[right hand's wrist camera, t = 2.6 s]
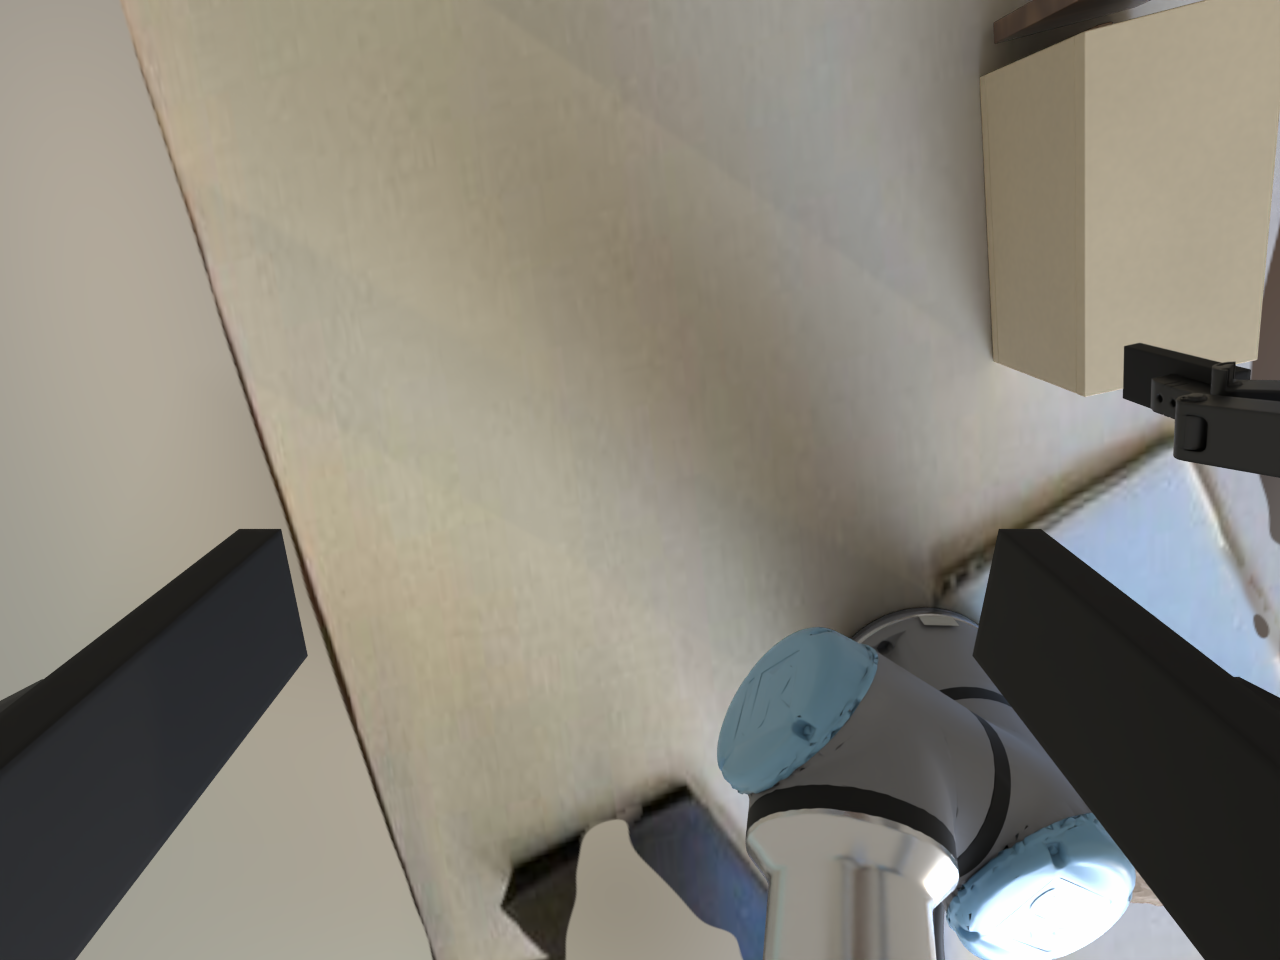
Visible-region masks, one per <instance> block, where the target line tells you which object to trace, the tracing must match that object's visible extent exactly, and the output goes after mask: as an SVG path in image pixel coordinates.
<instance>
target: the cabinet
mask: <svg viewBox="0 0 1280 960" xmlns="http://www.w3.org/2000/svg"><path fill="white" fill-rule="evenodd" d="M980 95H981V115H982V136H983V156H984V177H985V198H986V218H987V239H988V259H989V280H990V300H991V321H992V341H993V361H994V362H996V363H999V364H1001V365H1004V366H1007V367H1009V368H1012V369H1014V370H1017V371H1020V372H1022V373H1025V374H1027V375H1030V376H1033V377H1035V378H1038V379H1040V380H1043V381H1045V382H1048V383H1051V384H1053V385H1056V386H1058V387H1061V388H1064V389H1066V390H1069V391H1071V392H1074V393H1077V394H1078V395H1081V396H1084V397H1087V396H1092V395H1097V394H1101V393H1106V392H1111V391H1115V390H1120V389H1123V372H1124V346H1127V345H1131V344H1136V343H1143V344H1147V345H1151V346H1156V347H1160V348H1164V349H1168V350H1172V351H1176V352H1180V353H1184V354H1189V355H1193V356H1197V357H1201V358H1205V359H1209V360H1213V361H1217V362H1221V363H1223V362H1235V361H1236V364H1240V363H1244V362H1249V361H1254V360H1257V355H1258V344H1259V333H1260V322H1261V311H1262V300H1263V289H1264V278H1265V266H1266V255H1267V244H1268V233H1269V222H1270V210H1271V199H1272V188H1273V177H1274V166H1275V155H1276V143H1277V132H1278V121H1279V110H1280V0H1204V1H1200V2H1196V3H1192V4H1188V5H1184V6H1180V7H1177V8H1173V9H1169V10H1165V11H1161V12H1157V13H1153V14H1150V15H1146V16H1142V17H1138V18H1134V19H1130V20H1126V21H1123V22H1119V23H1115V24H1111V25H1107V26H1103V27H1099V28H1096V29H1092V30H1088V31H1084V32H1082V33H1080V34H1078V35H1076V36H1073V37H1071V38H1069V39H1066V40H1064V41H1062V42H1059V43H1057V44H1055V45H1053V46H1050V47H1048V48H1046V49H1043V50H1041V51H1039V52H1036V53H1034V54H1032V55H1030V56H1027V57H1025V58H1023V59H1020V60H1018V61H1016V62H1013V63H1011V64H1009V65H1007V66H1004V67H1002V68H1000V69H997V70H995V71H993V72H990V73H988V74H986V75H984V76H981V77H980Z"/></svg>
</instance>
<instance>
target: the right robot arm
mask: <svg viewBox="0 0 1280 960" xmlns="http://www.w3.org/2000/svg"><path fill="white" fill-rule="evenodd" d="M307 656H308V655H307V650H306V646H305V641H304V636H303V632H302V627H301V622H300V617H299V612H298V607H297V603H296V598H295V593H294V588H293V584H292V579H291V574H290V569H289V564H288V560H287V555H286V550H285V545H284V541H283V536H282V531H281V529H239V530H237V531H236V532H235V533H233V534H232V535H231V536H230V537H228V538H227V539H226V540H224V541H223V542H222V543H220V544H219V545H218V546H216V547H215V548H214V549H213V550H211V551H210V552H209V553H207V554H206V555H205V556H204V557H202V558H201V559H200V560H198V561H197V562H196V563H194V564H193V565H192V566H190V567H189V568H188V569H187V570H185V571H184V572H183V573H181V574H180V575H179V576H177V577H176V578H175V579H174V580H172V581H171V582H170V583H168V584H167V585H166V586H165V587H163V588H162V589H161V590H159V591H158V592H157V593H155V594H154V595H153V596H152V597H150V598H149V599H148V600H146V601H145V602H144V603H142V604H141V605H140V606H138V607H137V608H136V609H135V610H133V611H132V612H131V613H129V614H128V615H127V616H125V617H124V618H123V619H122V620H120V621H119V622H118V623H116V624H115V625H114V626H112V627H111V628H110V629H108V630H107V631H106V632H105V633H103V634H102V635H101V636H99V637H98V638H97V639H95V640H94V641H93V642H92V643H90V644H89V645H88V646H86V647H85V648H84V649H82V650H81V651H80V652H79V653H77V654H76V655H75V656H73V657H72V658H71V659H69V660H68V661H67V662H66V663H64V664H63V665H62V666H60V667H59V668H58V669H56V670H55V671H54V672H53V673H51V674H50V675H49V676H47V677H46V678H45V679H42V680H40V681H38V682H36V683H34V684H32V685H30V686H28V687H26V688H24V689H22V690H20V691H19V692H17V693H15V694H13V695H11V696H9V697H7V698H5V699H3V700H1V701H0V960H75V959H76V958H77V957H78V956H79V954H80V953H81V952H82V950H83V949H84V948H85V946H86V945H87V944H88V942H89V941H90V940H91V939H92V937H93V936H94V935H95V933H96V932H97V931H98V929H99V928H100V927H101V925H102V924H103V923H104V922H105V920H106V919H107V918H108V916H109V915H110V914H111V912H112V911H113V910H114V908H115V907H116V906H117V905H118V903H119V902H120V901H121V899H122V898H123V897H124V895H125V894H126V893H127V891H128V890H129V889H130V888H131V886H132V885H133V883H134V882H135V881H136V880H137V878H138V877H139V876H140V874H141V873H142V872H143V871H144V869H145V868H146V867H147V865H148V864H149V863H150V861H151V860H152V859H153V857H154V856H155V855H156V854H157V852H158V851H159V850H160V848H161V847H162V846H163V844H164V843H165V842H166V840H167V839H168V838H169V836H170V835H171V834H172V833H173V831H174V830H175V829H176V827H177V826H178V825H179V823H180V822H181V821H182V819H183V818H184V817H185V816H186V814H187V813H188V812H189V810H190V809H191V808H192V806H193V805H194V804H195V803H196V801H197V800H198V798H199V797H200V796H201V795H202V793H203V792H204V791H205V789H206V788H207V787H208V785H209V784H210V783H211V782H212V780H213V779H214V778H215V776H216V775H217V774H218V772H219V771H220V770H221V768H222V767H223V766H224V765H225V763H226V762H227V761H228V759H229V758H230V757H231V755H232V754H233V753H234V751H235V750H236V749H237V748H238V746H239V745H240V744H241V742H242V741H243V740H244V738H245V737H246V736H247V734H248V733H249V732H250V731H251V729H252V728H253V727H254V725H255V724H256V723H257V721H258V720H259V719H260V717H261V716H262V715H263V714H264V712H265V711H266V710H267V708H268V707H269V706H270V704H271V703H272V702H273V700H274V699H275V698H276V697H277V695H278V694H279V693H280V691H281V690H282V689H283V687H284V686H285V685H286V683H287V682H288V681H289V680H290V678H291V677H292V676H293V674H294V673H295V672H296V670H297V669H298V668H299V666H300V665H301V664H302V663H303V661H304V660H305V659H306V657H307ZM972 656H973V657H974V659H975V660H976V661H977V663H978V664H979V665H980V666H981V668H982V669H983V670H984V672H985V673H986V674H987V676H988V677H989V678H990V680H991V681H992V682H993V683H994V685H995V686H996V687H997V689H998V690H999V691H1000V693H1001V694H1002V695H1003V697H1004V698H1005V699H1006V700H1007V702H1008V703H1009V704H1010V706H1011V707H1012V708H1013V710H1014V711H1015V712H1016V714H1017V715H1018V716H1019V717H1020V719H1021V720H1022V721H1023V723H1024V724H1025V725H1026V727H1027V728H1028V729H1029V731H1030V732H1031V733H1032V734H1033V736H1034V737H1035V738H1036V740H1037V741H1038V742H1039V744H1040V745H1041V746H1042V748H1043V749H1044V750H1045V751H1046V753H1047V754H1048V755H1049V757H1050V758H1051V759H1052V761H1053V762H1054V763H1055V765H1056V766H1057V767H1058V768H1059V770H1060V771H1061V772H1062V774H1063V775H1064V776H1065V778H1066V779H1067V780H1068V782H1069V783H1070V784H1071V785H1072V787H1073V788H1074V789H1075V791H1076V792H1077V793H1078V795H1079V796H1080V797H1081V799H1082V800H1083V801H1084V803H1085V804H1086V805H1087V806H1088V808H1089V809H1090V810H1091V812H1092V813H1093V814H1094V816H1095V817H1096V818H1097V820H1098V821H1099V822H1100V823H1101V825H1102V826H1103V827H1104V829H1105V830H1106V831H1107V833H1108V834H1109V835H1110V837H1111V838H1112V839H1113V840H1114V842H1115V843H1116V844H1117V846H1118V847H1119V848H1120V850H1121V851H1122V852H1123V854H1124V855H1125V856H1126V857H1127V859H1128V860H1129V861H1130V863H1131V864H1132V865H1133V867H1134V868H1135V869H1136V871H1137V872H1138V873H1139V874H1140V876H1141V877H1142V878H1143V880H1144V881H1145V882H1146V884H1147V885H1148V886H1149V888H1150V889H1151V890H1152V891H1153V893H1154V894H1155V895H1156V897H1157V898H1158V899H1159V901H1160V902H1161V903H1162V905H1163V906H1164V907H1165V908H1166V910H1167V911H1168V912H1169V914H1170V915H1171V916H1172V918H1173V919H1174V920H1175V922H1176V923H1177V924H1178V925H1179V927H1180V928H1181V929H1182V931H1183V932H1184V933H1185V935H1186V936H1187V937H1188V939H1189V940H1190V941H1191V942H1192V944H1193V945H1194V946H1195V948H1196V949H1197V950H1198V952H1199V953H1200V954H1201V956H1202V957H1203V958H1204V959H1205V960H1280V698H1279V697H1277V696H1275V695H1273V694H1271V693H1269V692H1267V691H1265V690H1263V689H1262V688H1260V687H1258V686H1256V685H1254V684H1252V683H1250V682H1248V681H1246V680H1244V679H1242V678H1240V677H1233V676H1231V675H1230V674H1229V673H1227V672H1226V671H1225V670H1224V669H1222V668H1221V667H1220V666H1218V665H1217V664H1216V663H1214V662H1213V661H1212V660H1211V659H1209V658H1208V657H1207V656H1205V655H1204V654H1203V653H1201V652H1200V651H1199V650H1198V649H1196V648H1195V647H1194V646H1192V645H1191V644H1190V643H1188V642H1187V641H1186V640H1185V639H1183V638H1182V637H1181V636H1179V635H1178V634H1177V633H1175V632H1174V631H1173V630H1172V629H1170V628H1169V627H1168V626H1166V625H1165V624H1164V623H1162V622H1161V621H1160V620H1158V619H1157V618H1156V617H1155V616H1153V615H1152V614H1151V613H1149V612H1148V611H1147V610H1145V609H1144V608H1143V607H1142V606H1140V605H1139V604H1138V603H1136V602H1135V601H1134V600H1132V599H1131V598H1130V597H1129V596H1127V595H1126V594H1125V593H1123V592H1122V591H1121V590H1119V589H1118V588H1117V587H1116V586H1114V585H1113V584H1112V583H1110V582H1109V581H1108V580H1106V579H1105V578H1104V577H1103V576H1101V575H1100V574H1099V573H1097V572H1096V571H1095V570H1093V569H1092V568H1091V567H1090V566H1088V565H1087V564H1086V563H1084V562H1083V561H1082V560H1080V559H1079V558H1078V557H1077V556H1075V555H1074V554H1073V553H1071V552H1070V551H1069V550H1067V549H1066V548H1065V547H1064V546H1062V545H1061V544H1060V543H1058V542H1057V541H1056V540H1054V539H1053V538H1052V537H1050V536H1049V535H1048V534H1047V533H1045V532H1044V531H1043V530H1041V529H999V531H998V536H997V541H996V545H995V550H994V555H993V560H992V564H991V569H990V574H989V579H988V584H987V588H986V593H985V598H984V603H983V607H982V612H981V617H980V622H979V627H978V631H977V636H976V641H975V646H974V650H973V655H972Z"/></svg>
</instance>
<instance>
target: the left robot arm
mask: <svg viewBox="0 0 1280 960" xmlns="http://www.w3.org/2000/svg"><path fill="white" fill-rule="evenodd" d="M1235 365H1236V361H1235V362H1223V363H1221V362H1217V361H1213V360H1209V359H1205V358H1201V357H1197V356H1193V355H1189V354H1184V353H1180V352H1176V351H1172V350H1168V349H1164V348H1160V347H1156V346H1151V345H1147V344H1143V343H1136V344H1131V345H1127V346H1124V372H1123V398H1124V399H1127V400H1129V401H1132V402H1135V403H1137V404H1140V405H1143V406H1146V407H1148V408H1151V409H1152V410H1153V411H1154V412H1156V413H1159V414H1162V415H1163V414H1164V415H1165V416H1167V417H1171V418H1173V419H1175V431H1174V452H1173V455H1174V457H1175V458H1176V459H1179V460H1183V461H1188V462H1193V463H1199V464H1205V465H1210V466H1216V467H1222V468H1227V469H1233V470H1239V471H1245V472H1250V473H1256V474H1262V475H1267V476H1273V477H1279V478H1280V380H1250V374H1251V370H1250V369H1246V368H1242V367H1238V366H1235ZM978 627H979V625H977V624H976V623H975V622H973V621H972V620H970V619H969V618H967V617H965V616H963V615H961V614H958V613H955V612H953V611H949V610H945V609H938V608H913V609H907V610H902V611H898V612H894V613H891V614H889V615H886V616H884V617H881V618H879V619H877V620H875V621H874V622H872V623H870V624H868V625H867V626H866V627H864V628H863V629H861V630H860V631H859V632H858V633H856V634H855V635H854V636H853V637H852V638H851V639H850V638H848V637H846V636H844V635H842V634H840V633H838V632H836V631H834V630H831V629H828V628H822V627H812V628H807V629H803V630H800V631H797V632H795V633H793V634H791V635H789V636H788V637H786V638H784V639H783V640H781V641H780V642H778V643H777V644H776V645H775V646H773V647H772V648H771V649H770V650H769V651H768V652H767V653H766V654H765V655H764V656H763V657H762V658H761V659H760V660H759V661H758V662H757V664H756V665H755V666H754V667H753V669H752V670H751V671H750V673H749V674H748V676H747V677H746V678H745V679H744V681H743V682H742V684H741V685H740V687H739V689H738V691H737V692H736V694H735V696H734V698H733V700H732V702H731V704H730V706H729V708H728V710H727V713H726V716H725V718H724V721H723V724H722V727H721V731H720V735H719V740H718V747H717V760H718V766H719V768H720V770H721V771H722V774H723V776H724V779H726V780H727V782H729V783H730V784H731V786H732V788H733V789H736V790H738V793H740V794H743V793H745V794H748V796H749V812H748V821H747V831H746V849H747V852H748V855H749V857H750V858H751V860H752V861H753V862H754V864H755V865H756V866H757V868H758V869H759V870H760V872H761V873H762V874H763V876H764V877H765V878H766V880H767V882H768V885H769V886H768V899H767V912H766V925H765V939H764V952H763V960H945V955H944V938H943V929H944V911H946V913H947V915H946V919H947V922H948V924H949V927H950V928H952V929H953V930H954V931H955V932H956V934H957V936H958V937H959V939H960V941H961V942H962V944H963V945H964V946H965V947H966V948H967V949H968V950H969V951H970V952H971V953H972V954H974V955H975V956H977V957H979V958H981V959H983V960H1051V959H1056V958H1059V957H1062V956H1065V955H1067V954H1070V953H1072V952H1074V951H1076V950H1078V949H1080V948H1082V947H1084V946H1086V945H1087V944H1089V943H1091V942H1092V941H1094V940H1095V939H1097V938H1098V937H1100V936H1101V935H1102V934H1104V933H1105V932H1106V931H1107V930H1108V929H1110V928H1111V927H1112V926H1113V925H1114V924H1115V923H1116V922H1117V921H1118V919H1119V918H1120V917H1121V916H1122V914H1123V913H1124V912H1125V910H1126V909H1127V907H1128V905H1129V903H1130V901H1131V899H1132V891H1133V889H1134V887H1135V880H1136V874H1135V868H1134V867H1133V865H1132V864H1131V863H1130V861H1129V860H1128V859H1127V857H1126V856H1125V855H1124V854H1123V852H1122V851H1121V850H1120V848H1119V847H1118V846H1117V844H1116V843H1115V842H1114V840H1113V839H1112V838H1111V837H1110V835H1109V834H1108V833H1107V831H1106V830H1105V829H1104V827H1103V826H1102V825H1101V823H1100V822H1099V821H1098V820H1097V818H1096V817H1095V816H1094V814H1093V813H1092V812H1091V810H1090V809H1089V808H1088V806H1087V805H1086V804H1085V803H1084V801H1083V800H1082V799H1081V797H1080V796H1079V795H1078V793H1077V792H1076V791H1075V789H1074V788H1073V787H1072V785H1071V784H1070V783H1069V782H1068V780H1067V779H1066V778H1065V776H1064V775H1063V774H1062V772H1061V771H1060V770H1059V768H1058V767H1057V766H1056V765H1055V763H1054V762H1053V761H1052V759H1051V758H1050V757H1049V755H1048V754H1047V753H1046V751H1045V750H1044V749H1043V748H1042V746H1041V745H1040V744H1039V742H1038V741H1037V740H1036V738H1035V737H1034V736H1033V734H1032V733H1031V732H1030V731H1029V729H1028V728H1027V727H1026V725H1025V724H1024V723H1023V721H1022V720H1021V719H1020V717H1019V716H1018V715H1017V714H1016V712H1015V711H1014V710H1013V708H1012V707H1011V706H1010V704H1009V703H1008V702H1007V700H1006V699H1005V698H1004V697H1003V695H1002V694H1001V693H1000V691H999V690H998V689H997V687H996V686H995V685H994V683H993V682H992V681H991V680H990V678H989V677H988V676H987V674H986V673H985V672H984V670H983V669H982V668H981V666H980V665H979V664H978V663H977V661H976V660H975V659H974V657H973V656H972V655H973V650H974V646H975V641H976V636H977V631H978ZM934 908H935V915H934V926H933V915H932V912H933V910H934Z"/></svg>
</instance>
